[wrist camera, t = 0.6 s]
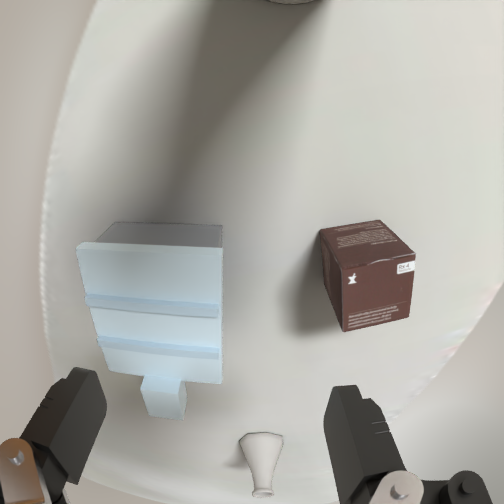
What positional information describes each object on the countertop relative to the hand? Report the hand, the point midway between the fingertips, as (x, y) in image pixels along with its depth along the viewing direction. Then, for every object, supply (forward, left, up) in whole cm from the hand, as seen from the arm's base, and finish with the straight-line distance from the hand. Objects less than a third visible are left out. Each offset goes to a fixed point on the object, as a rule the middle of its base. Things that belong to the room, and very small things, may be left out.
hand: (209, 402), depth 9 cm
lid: (+9, -6, -13) cm, 17 cm away
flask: (+37, +5, -19) cm, 42 cm away
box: (+3, +11, -19) cm, 22 cm away
